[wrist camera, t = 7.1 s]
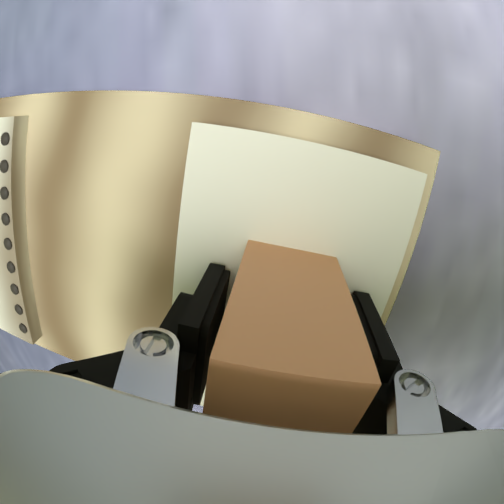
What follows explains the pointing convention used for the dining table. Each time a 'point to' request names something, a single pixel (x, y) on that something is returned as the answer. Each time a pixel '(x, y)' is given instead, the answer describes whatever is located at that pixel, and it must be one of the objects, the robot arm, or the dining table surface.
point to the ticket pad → (125, 205)
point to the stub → (292, 270)
